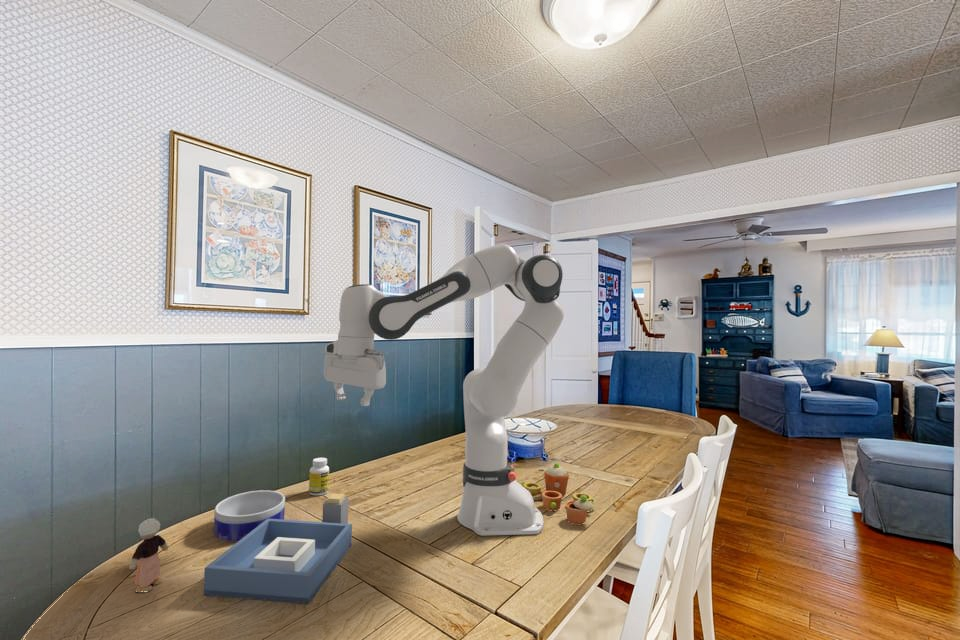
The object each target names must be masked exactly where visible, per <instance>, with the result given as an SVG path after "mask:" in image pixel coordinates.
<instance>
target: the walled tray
mask: <svg viewBox="0 0 960 640" xmlns="http://www.w3.org/2000/svg"><path fill="white" fill-rule="evenodd" d="M352 535H353V524H352V523H348V524H342V523H327V522H322V521H309V520H297V519H296V520H295V519H284V520H283V519H266V520H265V521H264V522H263V523H261V524H260V525H259V526H258V527H256V528H255V529H254V530H252V531H251V532H250V533H249V534H247V535H246V536H245V537H243V538H242V539H241V540H240V541H236V543H234V544H233V545H232V546H230V547H229V548H228V549H226V551H224V552H223V553H221V554H220V555H219V556H218V557H216V558H215V559H214V560H213V561H211V562H210V563H208V565H206V566H205V567H204V574H203V575H204V576H203V579H204V580H203V596H210V597H223V598H233V599H243V600H244V599H245V600H246V599H247V600H256V601H257V600H258V601H267V602H269V601H270V602H278V603H279V602H281V603H283V602H284V603H292V604H305V605H306V604H307V605H309V604H310V602H311V601H312V600H313V599H314V597H315V596H316V595H317V593H318V592H319V590H320V589H322V587H323V585H324V584H325V582H327V580H328V578H329V577H330V576H331V575H332V573H333V572H334V571H335V569H336V568H337V566H338V564H339V563H340V562H341V561H342V560H343V558H344V557H345V555H346V554H347V553H348V552H349V550H350V548H352Z"/></svg>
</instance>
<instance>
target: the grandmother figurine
mask: <svg viewBox="0 0 960 640" xmlns="http://www.w3.org/2000/svg"><path fill="white" fill-rule="evenodd" d="M160 529H161V523H160V521H159V520H158V519H156V518H154V517H151V518H148V519H145V520H143V521H142V522H141V523H140V524H139V525H138V529H137V530H138V533H139V536H140V538H141V539H143V541H142V542H140V543H138V545H137V547H136V549H135V551H134V553H133V554H132V558H131V561H130V564H129V566H128V569H129V570H130V571H133V570H135V569H136V568H137V569H136V575H135V581H134V582H135V583H134V584H135V585H136V586H137V587H135V589H134V592H135V591H137V592H141V591H143V592H144V591H149V590H150V591H151V589H152V590H153V588H154V587H153V586H157V585H159V584H161V583H162V582H163V579H161V578H160V577H161V561H160V559H159V558H160V557H159V553H158V552H159V549H160V548H161V550H162V552H166V551H168V549H169V546H168V545H167V542H166V539H165V538H164V537H162V536H161V535H160V534H157V533H158V532H159V531H160ZM150 584H154V585H150ZM156 584H157V585H156ZM150 591H149V592H150Z"/></svg>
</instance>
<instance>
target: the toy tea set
mask: <svg viewBox="0 0 960 640" xmlns="http://www.w3.org/2000/svg"><path fill="white" fill-rule="evenodd" d="M543 475H544V482H545V483H544V485H545V491H543V492H542V485H541V484H539V483H538V482H537V483H536V482H532V481H530V482H529V481H528V482H526V481H522V482H521V485H522V486H523V487H524V488H525V489H527V490H528V491H529V492H530V493H531V495H532V498H533V500H534V501H540V500H542V506H543V509H544V508H545V510H546V509H548V510H547V511H549V510H553V511H552V512H555V511H554V510H557V511H559V510H560V509H561V504H562V498H563V497H565V496H566V494H567V487H568V482H569V477H570V474H569V472H568V471H567V470H565V469H564V468H563V467H561V466H560V464H559V463H558V462H555V463H554V464H553V465H552V466H550V467H548V468H547V469H546V470H544V473H543ZM564 495H565V496H564ZM562 496H563V497H562ZM539 499H540V500H539ZM558 509H559V510H558ZM593 509H594V510H595V505H594V499H593V496H592V495H590V494H588V493H587V492H586V493H585V492H575V493H573V494H572V500H568V501H566V503H565V511H566V519H567V522H568V521H569V522H570V523H569V522H568V523H569V524H571V523H574V524H583V523H584V522H585V523H586V522H587V521H586V520H587V517H588V516H587V515H588V512H587V511H591V510H593ZM594 510H593V511H594ZM591 512H592V511H591ZM574 524H573V525H574ZM583 525H584V524H583Z"/></svg>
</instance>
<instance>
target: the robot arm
mask: <svg viewBox="0 0 960 640" xmlns="http://www.w3.org/2000/svg"><path fill="white" fill-rule="evenodd" d="M563 274H564V273H563V268H562V266H561V263H560V262H559V261H558V260H557V259H555V258H554V257H553V256H550V255H547V254H537V255H534V256H531V257H530V258H529V259H527V260H524V259H522V258H520V257H519V255H518V253H517V252H516V250H515V249H514V248H513V247H512V246H511V245H509V244H506V243H499V244H495V245H492V246H489V247H486V248H483V249H480V250H478V251H476V252H474V253H472V254H470V255H468V256H466V257H464V258H462V259H461V260H459V261H458V262H456V263H455V264H453V266H452V267H450V268H449V269H448V270H447V271H446V272H445V273H444V274H443V275H442V276H441V277H440V278H438V279H437V280H435V281H433V282H430V283H429V284H427V285H425V286H423V287H420V288H419V289H416V290H415V291H412V292H410V293H408V294H405V295H391V296H389V295H387V294H385V293H384V292H382V291H380V290H379V289H377V288H376V286H374V285H372V284H368V283H367V284H364V283H362V284H355V285H350V286H348V287H346V288H345V289H344V290H343V292H342V294H341V298H340V304H339V313H338V314H339V315H338V320H339V324H340V325H339V331H338V333H337V339H336V340H334V341H332V342H330V343H327V344H325V345H324V353H325V354H326V355H325V357H324V362H323V377H324V378H325V381H327V382H332V383H333V387H334V391H335V393H336V398H335V399H336V400H337V401H340V402H341V401H345V400H346V395H347V394H346V392H344V386H345V385H349V386H354V387H358V388H359V387H360V388H363V392H364V394H363V397H361V398H360V406H362V407H363V406H364V407H368V406H370V405H371V399H372V396H373V395H374V393H375V390H379V389H384V388H385V386H386V384H387V369H386V361H385V356H384V355H383V353H382V352H381V351H380V350H378V349H376V350H374V347H375V346H374V345H375V335H376V336H378V337H380V338H381V339H384V340H391V341H392V340H397V339H400V338H403V337H404V336H405V335H406V334H407V333H408V332H409V331H410V330H411V329H412V327H413V326H414V325H415V323H417V321H418V320H420V319H422V318H424V316H426V315H429V314H430V313H433V312H434V311H436V310H438V309H440V308H442V307H443V306H445V305H448V304H451V303H455V302H460V301H461V302H462V301H469V300H474V299H476V298H479V297H481V296H484V295H486V294H488V293H490V292H491V291H493V290H496V289H497V288H500V287H502V286H505V288H507V290H508V291H510V292H511V294H512V295H513V296H514V297H515V298H516V299H518V300H520V301H521V302H522V301H523V302H524V307H523V309H522V311H521V313H520V314H519V316H518V317H517V318H516V319H515V320H514V321H513V323H512V324H511V326H510V327H509V328H508V329H507V331H506V333H505V334H504V335H503V336H502V337H501V339H500V340H499V342H498V343H497V345H496V348H495V350H494V353H493V354H492V356H491V358H490V359H489V362H488V364H487V365H486V367H480V368H475V369H474V370H472V371H470V372H469V373H468V374H467V375H465V378H464V379H463V384H462V391H463V392H462V394H463V415H464V426H465V427H464V429H465V447H464V448H465V454H464V457H465V458H464V463H463V466H462V486H463V489H462V497H461V501H460V507H459V509H458V514H457V517H456V518H457V521H458V523H459V524H460V525H462V526H464V527H465V528H468V529H469V530H471V531H473V532H474V533H475V534H476V535H479V536H482V537H483V536H513V535H514V536H515V535H516V536H517V535H520V536H521V535H537V534H540V533H541V532H542V531H543V530H544V517H543V514H542V512H541V511H540V510H539V509H538V508H537V507H536V506H535V505H536V504H535V500H533V498H532V495H531V493H530V492H529V491H528V490H527V489H525V488H524V487H523V486H522V484H520V483H519V482H518V481H517V480H516V479H517V473H516V471H515V468H514V466H513V465H512V464H511V465H510V464H508V438H509V437H508V432H507V427H506V421H505V416H508V415H509V414H511V413H512V412H513V410H514V409H515V408H516V405H517V402H518V396H519V393H520V392H521V390H522V388H523V386H524V383H525V381H526V379H527V377H528V376H529V373H530V372H531V370H532V368H533V367H534V366H535V364H536V363H537V361H538V359H540V357H541V355H542V354H543V353H544V352H545V350H546V349H547V347H548V346H549V345H550V343H551V342H552V340H553V339H554V337H555V335H556V334H557V332H558V330H559V328H560V326H561V324H562V322H563V320H564V315H565V314H564V310H563V308H562V306H561V305H560V303H558V302H557V299H558V298H559V296H560V294H561V285H562V282H563Z"/></svg>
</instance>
